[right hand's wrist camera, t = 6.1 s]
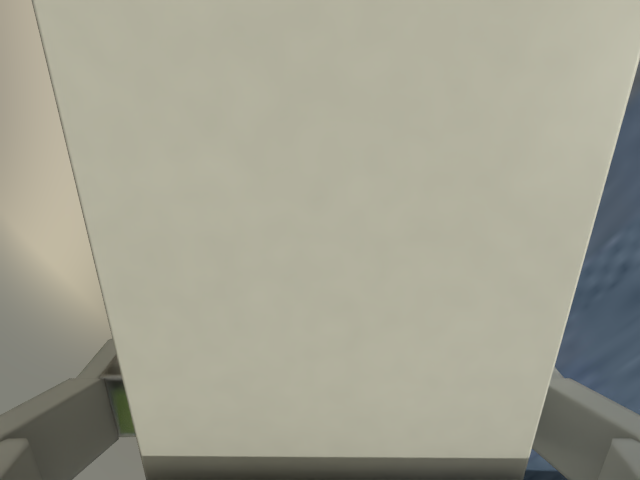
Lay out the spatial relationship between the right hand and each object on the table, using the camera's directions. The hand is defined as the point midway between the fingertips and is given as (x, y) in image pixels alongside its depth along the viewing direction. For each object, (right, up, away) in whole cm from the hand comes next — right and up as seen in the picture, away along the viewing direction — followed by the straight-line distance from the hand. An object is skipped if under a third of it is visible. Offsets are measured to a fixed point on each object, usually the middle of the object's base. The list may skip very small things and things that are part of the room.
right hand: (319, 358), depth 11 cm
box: (0, +8, +2) cm, 9 cm away
